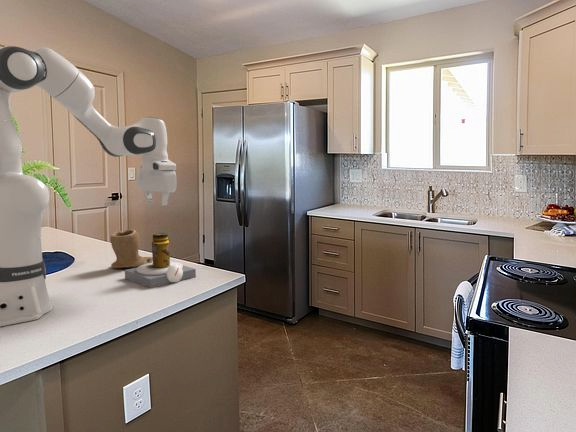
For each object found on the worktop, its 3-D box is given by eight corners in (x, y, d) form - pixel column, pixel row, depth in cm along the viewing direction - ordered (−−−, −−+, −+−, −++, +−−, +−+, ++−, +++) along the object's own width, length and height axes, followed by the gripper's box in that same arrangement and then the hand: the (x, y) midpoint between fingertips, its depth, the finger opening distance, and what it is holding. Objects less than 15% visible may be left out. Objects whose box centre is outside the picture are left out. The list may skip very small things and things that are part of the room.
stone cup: (107, 271, 167) (104, 233, 165) (115, 264, 179) (113, 228, 177) (148, 270, 169) (146, 232, 167) (153, 263, 181) (152, 227, 179)
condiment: (173, 267, 158) (172, 234, 156) (150, 270, 153) (148, 236, 152) (167, 263, 164) (165, 231, 162) (144, 266, 159) (142, 233, 157)
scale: (152, 288, 145) (151, 270, 145) (125, 278, 158) (124, 261, 158) (197, 277, 158) (197, 260, 158) (168, 268, 172) (168, 253, 171)
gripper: (132, 164, 158) (134, 202, 160) (162, 165, 144) (164, 207, 146) (148, 164, 163) (150, 201, 165) (179, 165, 149) (180, 205, 151)
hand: (157, 204), depth 155 cm, fingers open, 8 cm apart
